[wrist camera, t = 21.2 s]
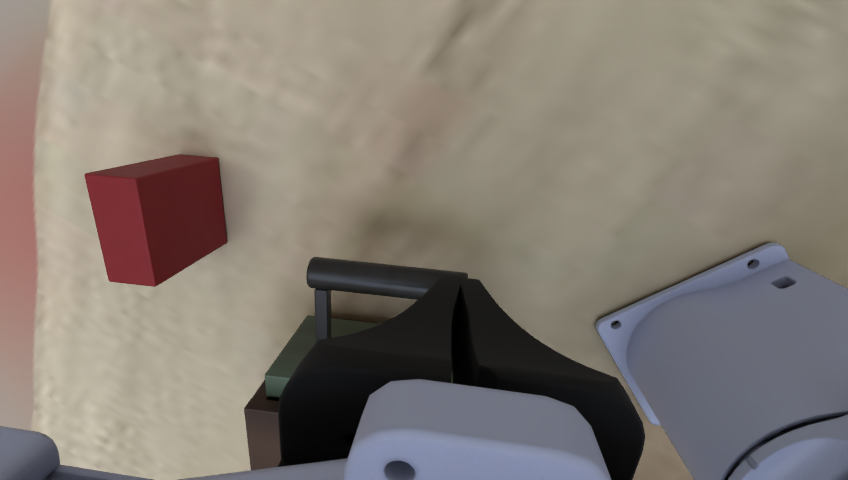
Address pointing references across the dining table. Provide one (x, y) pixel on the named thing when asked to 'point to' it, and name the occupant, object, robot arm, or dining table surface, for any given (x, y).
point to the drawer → (322, 326)
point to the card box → (157, 216)
